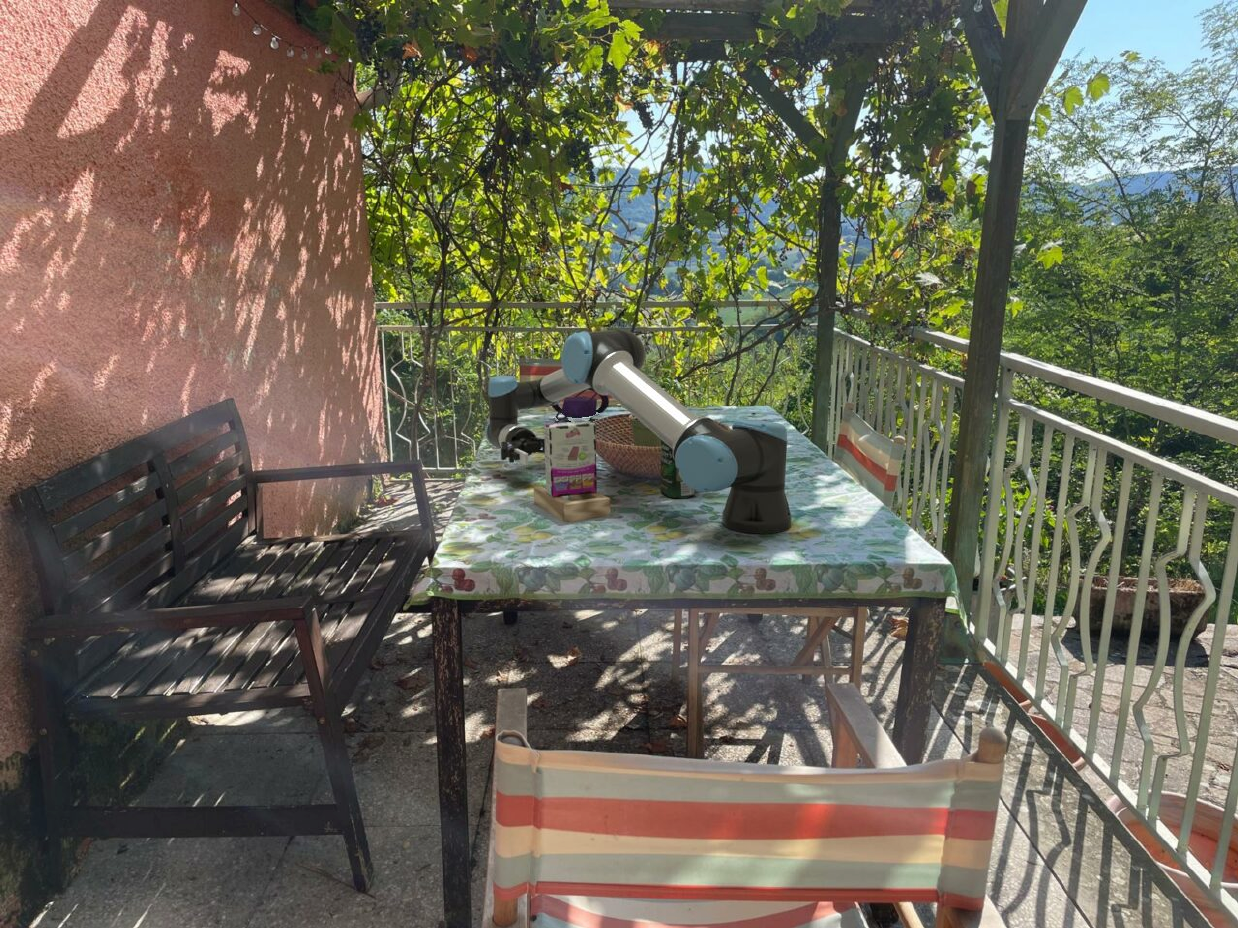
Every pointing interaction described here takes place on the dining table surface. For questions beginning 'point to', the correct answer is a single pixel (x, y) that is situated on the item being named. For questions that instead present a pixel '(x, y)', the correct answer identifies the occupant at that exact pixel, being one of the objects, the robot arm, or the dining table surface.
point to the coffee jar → (672, 476)
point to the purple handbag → (581, 406)
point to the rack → (573, 505)
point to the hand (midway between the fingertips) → (553, 456)
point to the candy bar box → (570, 458)
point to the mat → (561, 522)
